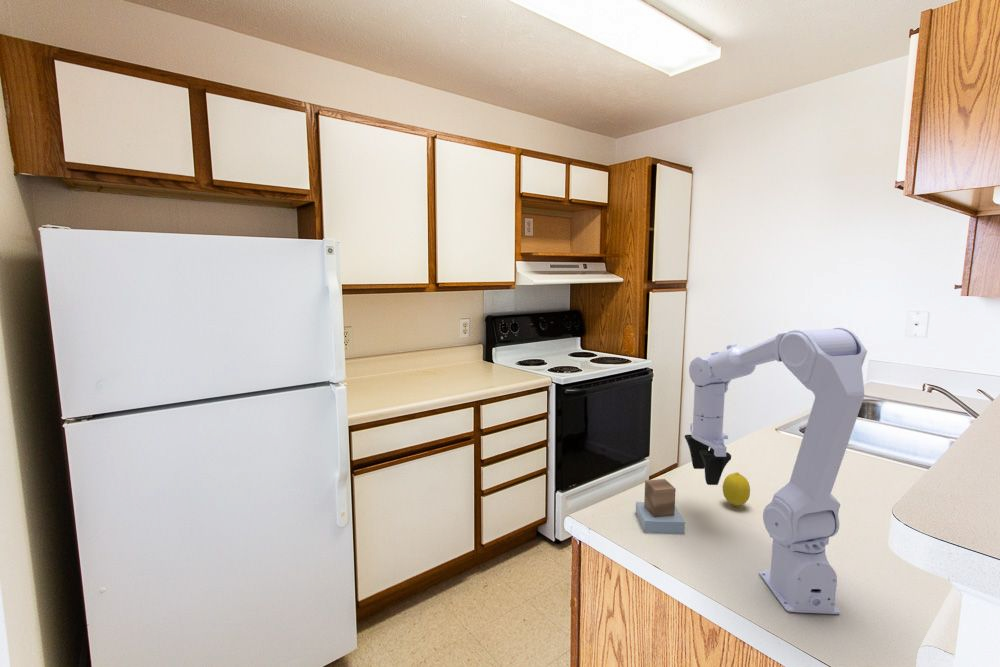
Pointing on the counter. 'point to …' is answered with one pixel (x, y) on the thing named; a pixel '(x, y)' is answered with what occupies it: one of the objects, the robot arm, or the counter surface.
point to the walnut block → (659, 498)
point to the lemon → (736, 489)
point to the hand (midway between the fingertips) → (705, 475)
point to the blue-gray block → (659, 521)
